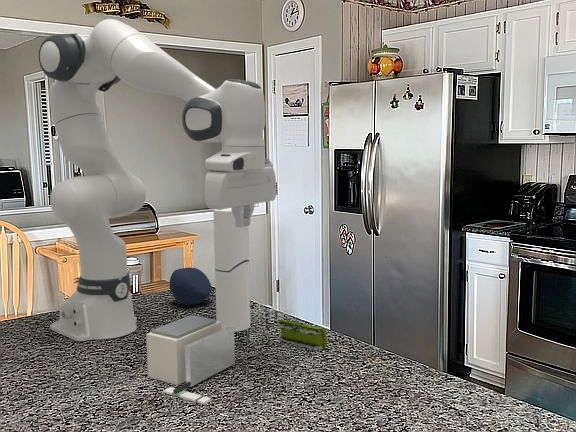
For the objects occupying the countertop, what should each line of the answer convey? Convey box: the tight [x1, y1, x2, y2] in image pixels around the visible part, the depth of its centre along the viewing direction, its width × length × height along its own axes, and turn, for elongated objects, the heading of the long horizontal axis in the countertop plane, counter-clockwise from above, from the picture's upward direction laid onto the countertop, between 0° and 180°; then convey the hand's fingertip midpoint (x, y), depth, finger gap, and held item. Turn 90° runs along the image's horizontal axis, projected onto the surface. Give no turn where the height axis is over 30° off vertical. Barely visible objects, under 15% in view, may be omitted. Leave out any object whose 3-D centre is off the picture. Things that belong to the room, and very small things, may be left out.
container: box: [212, 208, 251, 333], centre depth 154 cm, size 9×9×30 cm
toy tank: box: [265, 319, 328, 351], centre depth 145 cm, size 7×19×10 cm
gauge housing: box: [145, 314, 222, 405], centre depth 123 cm, size 18×18×10 cm
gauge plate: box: [173, 326, 236, 393], centre depth 125 cm, size 11×18×8 cm, turn 148°
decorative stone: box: [169, 267, 213, 306], centre depth 176 cm, size 12×12×10 cm
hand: (242, 226), depth 128 cm, fingers closed
